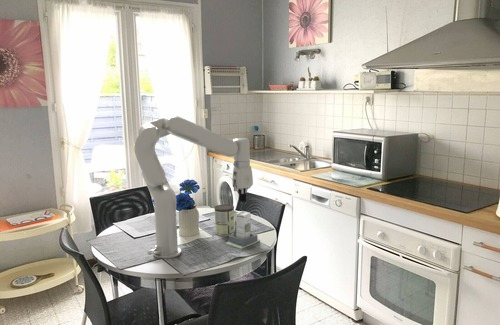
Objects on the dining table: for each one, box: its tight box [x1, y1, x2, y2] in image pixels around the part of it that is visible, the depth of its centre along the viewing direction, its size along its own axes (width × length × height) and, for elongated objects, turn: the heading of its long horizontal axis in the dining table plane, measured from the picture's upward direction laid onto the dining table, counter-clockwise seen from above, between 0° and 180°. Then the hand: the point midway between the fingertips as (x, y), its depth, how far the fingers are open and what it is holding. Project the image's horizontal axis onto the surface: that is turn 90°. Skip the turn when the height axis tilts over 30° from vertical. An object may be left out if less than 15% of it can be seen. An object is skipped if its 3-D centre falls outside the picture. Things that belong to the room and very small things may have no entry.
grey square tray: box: [228, 232, 259, 247], centre depth 203 cm, size 10×10×3 cm
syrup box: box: [234, 210, 252, 239], centre depth 202 cm, size 6×6×14 cm
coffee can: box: [213, 203, 235, 237], centre depth 216 cm, size 10×10×14 cm
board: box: [225, 238, 261, 250], centre depth 203 cm, size 14×10×1 cm
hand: (242, 201), depth 200 cm, fingers closed
